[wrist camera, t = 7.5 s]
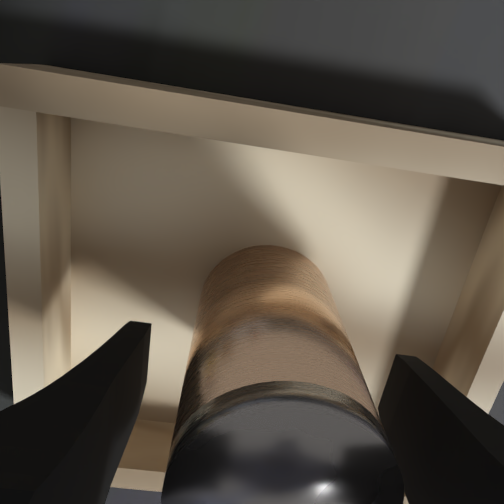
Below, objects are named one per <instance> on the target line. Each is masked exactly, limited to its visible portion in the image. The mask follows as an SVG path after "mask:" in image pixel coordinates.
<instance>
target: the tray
mask: <svg viewBox="0 0 504 504" xmlns="http://www.w3.org/2000/svg"><path fill="white" fill-rule="evenodd" d="M0 186H1V202H2V218H3V235H4V251H5V267H6V284H7V300H8V316H9V332H10V349H11V365H12V381H13V397H14V404H16V403H18V402H20V401H22V400H24V399H26V398H27V397H29V396H31V395H33V394H34V393H36V392H38V391H39V390H41V389H43V388H44V387H46V386H48V385H49V384H51V383H52V382H54V381H55V380H57V379H58V378H60V377H61V376H63V375H64V374H65V373H67V372H68V371H70V370H71V369H72V368H74V367H75V366H76V365H78V364H79V363H80V362H82V361H83V360H84V359H86V358H87V357H88V356H89V355H91V354H92V353H93V352H94V351H95V350H97V349H98V348H99V347H100V346H101V345H103V344H104V343H105V342H106V341H107V340H108V339H110V338H111V337H112V336H113V335H114V334H115V333H116V332H117V331H118V330H119V329H121V328H122V327H123V326H124V325H125V324H126V323H128V322H129V321H137V322H145V323H152V325H151V338H150V350H149V362H148V375H147V383H146V387H145V391H144V395H143V399H142V403H141V407H140V411H139V414H138V417H137V419H136V422H135V425H134V427H133V430H132V432H131V435H130V438H129V440H128V443H127V445H126V448H125V450H124V453H123V455H122V458H121V461H120V463H119V466H118V468H117V471H116V473H115V476H114V479H113V481H112V484H111V486H110V487H117V488H127V489H138V490H148V491H158V492H162V487H163V482H164V477H165V472H166V467H167V462H168V457H169V452H170V447H171V442H172V437H173V432H174V427H175V422H176V417H177V412H178V407H179V402H180V396H181V391H182V386H183V381H184V376H185V371H186V366H187V361H188V356H189V351H190V346H191V341H192V336H193V331H194V326H195V321H196V316H197V311H198V306H199V301H200V295H201V291H202V287H203V285H204V283H205V280H206V279H207V277H208V275H209V274H210V272H211V271H212V270H213V269H214V267H215V266H216V265H217V264H218V263H219V262H220V261H222V260H223V259H224V258H226V257H227V256H229V255H231V254H233V253H234V252H236V251H239V250H242V249H244V248H248V247H252V246H259V245H274V246H281V247H285V248H289V249H291V250H294V251H297V252H298V253H300V254H302V255H304V256H305V257H307V258H308V259H309V260H311V261H312V262H313V263H314V264H315V265H316V266H317V267H318V268H319V270H320V271H321V272H322V274H323V276H324V277H325V279H326V281H327V284H328V287H329V289H330V292H331V294H332V297H333V299H334V302H335V305H336V307H337V310H338V312H339V315H340V317H341V320H342V323H343V325H344V328H345V330H346V333H347V335H348V338H349V341H350V343H351V346H352V348H353V351H354V353H355V356H356V358H357V361H358V364H359V366H360V369H361V371H362V374H363V376H364V379H365V382H366V384H367V387H368V389H369V392H370V394H371V397H372V400H373V402H374V405H375V407H376V410H377V412H378V406H379V403H380V400H381V397H382V394H383V391H384V388H385V385H386V382H387V379H388V376H389V373H390V370H391V367H392V364H393V361H394V358H395V355H396V354H401V355H409V356H416V357H417V358H419V359H420V360H422V361H423V362H424V363H426V364H427V365H428V366H430V367H431V368H432V369H433V370H435V371H436V372H437V373H438V374H439V375H441V376H442V377H443V378H444V379H445V380H447V381H448V382H449V383H450V384H451V385H453V386H454V387H455V388H456V389H458V390H459V391H460V392H461V393H462V394H464V395H465V396H466V397H467V398H469V399H470V400H471V401H472V402H473V403H475V404H476V405H477V406H479V407H480V408H481V409H482V410H484V411H485V412H486V413H487V414H488V413H489V411H490V409H491V407H492V405H493V403H494V400H495V398H496V396H497V394H498V392H499V390H500V387H501V385H502V383H503V381H504V141H503V140H497V139H491V138H485V137H479V136H473V135H467V134H461V133H455V132H449V131H443V130H437V129H431V128H425V127H419V126H413V125H407V124H401V123H394V122H388V121H382V120H376V119H370V118H364V117H358V116H352V115H346V114H340V113H334V112H328V111H322V110H316V109H310V108H304V107H298V106H292V105H286V104H280V103H274V102H267V101H261V100H255V99H249V98H243V97H237V96H231V95H225V94H219V93H213V92H207V91H201V90H195V89H189V88H183V87H177V86H171V85H165V84H159V83H153V82H146V81H140V80H134V79H128V78H122V77H116V76H110V75H104V74H98V73H92V72H86V71H80V70H74V69H68V68H62V67H56V66H50V65H39V64H11V63H0ZM378 415H379V412H378ZM379 418H380V417H379ZM403 504H409V503H408V500H407V498H406V495H405V492H404V502H403Z"/></svg>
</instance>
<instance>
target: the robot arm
mask: <svg viewBox="0 0 504 504" xmlns="http://www.w3.org/2000/svg"><path fill="white" fill-rule="evenodd" d="M151 325H152V323H145V322H137V321H129V322H128V323H126V324H125V325H124V326H123V327H122V328H121V329H119V330H118V331H117V332H116V333H115V334H114V335H113V336H112V337H111V338H110V339H108V340H107V341H106V342H105V343H104V344H103V345H101V346H100V347H99V348H98V349H97V350H95V351H94V352H93V353H92V354H91V355H89V356H88V357H87V358H86V359H84V360H83V361H82V362H80V363H79V364H78V365H76V366H75V367H74V368H72V369H71V370H70V371H68V372H67V373H65V374H64V375H63V376H61V377H60V378H58V379H57V380H55V381H54V382H52V383H51V384H49V385H48V386H46V387H44V388H43V389H41V390H39V391H38V392H36V393H34V394H33V395H31V396H29V397H27V398H26V399H24V400H22V401H20V402H18V403H16V404H14V405H12V406H10V407H8V408H6V409H4V410H2V411H0V504H105V501H106V498H107V495H108V492H109V489H110V486H111V484H112V481H113V479H114V476H115V473H116V471H117V468H118V466H119V463H120V461H121V458H122V455H123V453H124V450H125V448H126V445H127V443H128V440H129V438H130V435H131V432H132V430H133V427H134V425H135V422H136V419H137V417H138V414H139V411H140V407H141V403H142V399H143V395H144V391H145V387H146V383H147V375H148V362H149V350H150V338H151ZM378 412H379V417H380V420H381V423H382V425H383V428H384V430H385V433H386V435H387V438H388V441H389V443H390V446H391V448H392V451H393V453H394V456H395V459H396V461H397V464H398V466H399V469H400V472H401V474H402V478H403V483H404V492H405V495H406V498H407V500H408V503H409V504H504V425H502V424H501V423H500V422H498V421H497V420H495V419H494V418H493V417H491V416H490V415H489V414H487V413H486V412H485V411H484V410H482V409H481V408H480V407H479V406H477V405H476V404H475V403H473V402H472V401H471V400H470V399H469V398H467V397H466V396H465V395H464V394H462V393H461V392H460V391H459V390H458V389H456V388H455V387H454V386H453V385H451V384H450V383H449V382H448V381H447V380H445V379H444V378H443V377H442V376H441V375H439V374H438V373H437V372H436V371H435V370H433V369H432V368H431V367H430V366H428V365H427V364H426V363H424V362H423V361H422V360H420V359H419V358H417V357H416V356H409V355H401V354H396V355H395V358H394V361H393V364H392V367H391V370H390V373H389V376H388V379H387V382H386V385H385V388H384V391H383V394H382V397H381V400H380V403H379V406H378Z"/></svg>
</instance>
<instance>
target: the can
mask: <svg viewBox="0 0 504 504" xmlns="http://www.w3.org/2000/svg"><path fill="white" fill-rule="evenodd" d="M403 502H404V483H403V478H402V474H401V472H400V469H399V466H398V464H397V461H396V459H395V456H394V453H393V451H392V448H391V446H390V443H389V441H388V438H387V435H386V433H385V430H384V428H383V425H382V423H381V420H380V418H379V415H378V412H377V410H376V407H375V405H374V402H373V400H372V397H371V394H370V392H369V389H368V387H367V384H366V382H365V379H364V376H363V374H362V371H361V369H360V366H359V364H358V361H357V358H356V356H355V353H354V351H353V348H352V346H351V343H350V341H349V338H348V335H347V333H346V330H345V328H344V325H343V323H342V320H341V317H340V315H339V312H338V310H337V307H336V305H335V302H334V299H333V297H332V294H331V292H330V289H329V287H328V284H327V281H326V279H325V277H324V276H323V274H322V272H321V271H320V270H319V268H318V267H317V266H316V265H315V264H314V263H313V262H312V261H311V260H309V259H308V258H307V257H305V256H304V255H302V254H300V253H298V252H297V251H294V250H291V249H289V248H285V247H281V246H274V245H259V246H252V247H248V248H244V249H242V250H239V251H236V252H234V253H233V254H231V255H229V256H227V257H226V258H224V259H223V260H222V261H220V262H219V263H218V264H217V265H216V266H215V267H214V269H213V270H212V271H211V272H210V274H209V275H208V277H207V279H206V280H205V283H204V285H203V287H202V291H201V295H200V301H199V306H198V311H197V316H196V321H195V326H194V331H193V336H192V341H191V346H190V351H189V356H188V361H187V366H186V371H185V376H184V381H183V386H182V391H181V396H180V402H179V407H178V412H177V417H176V422H175V427H174V432H173V437H172V442H171V447H170V452H169V457H168V462H167V467H166V472H165V477H164V482H163V487H162V496H161V504H403Z"/></svg>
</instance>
